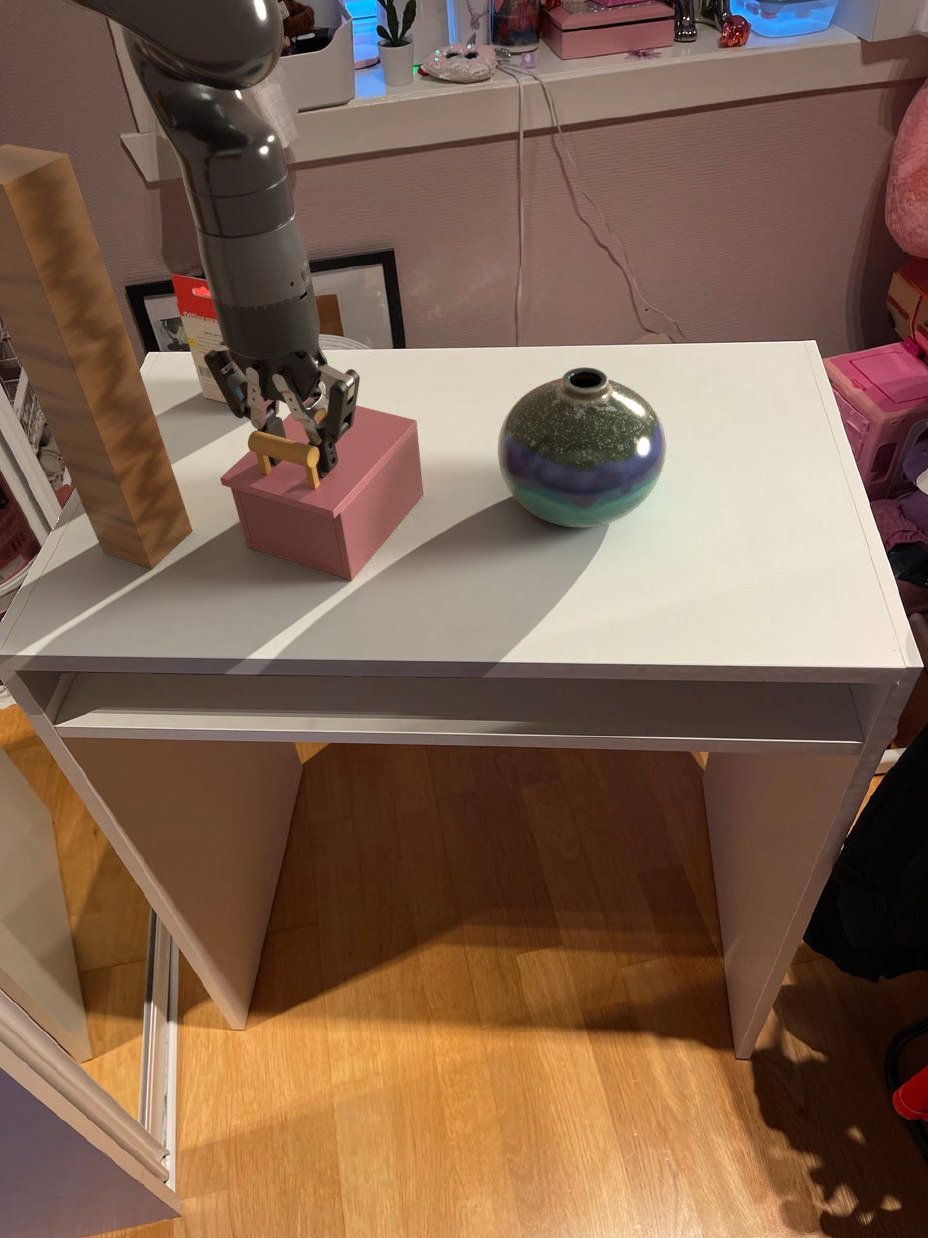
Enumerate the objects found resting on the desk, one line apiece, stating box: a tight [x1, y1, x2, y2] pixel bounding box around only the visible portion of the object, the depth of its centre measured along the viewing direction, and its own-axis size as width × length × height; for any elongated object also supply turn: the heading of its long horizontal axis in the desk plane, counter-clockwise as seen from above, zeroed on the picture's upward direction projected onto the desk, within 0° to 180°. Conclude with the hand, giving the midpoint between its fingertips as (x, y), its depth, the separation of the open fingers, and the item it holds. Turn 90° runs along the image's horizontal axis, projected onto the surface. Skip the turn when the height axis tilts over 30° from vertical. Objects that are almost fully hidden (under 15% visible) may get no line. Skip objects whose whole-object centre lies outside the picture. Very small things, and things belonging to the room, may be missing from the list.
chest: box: [230, 427, 424, 582], centre depth 84 cm, size 14×12×8 cm
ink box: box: [171, 273, 244, 404], centre depth 98 cm, size 8×5×15 cm, turn 65°
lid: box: [219, 397, 418, 519], centre depth 80 cm, size 14×12×5 cm
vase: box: [497, 366, 667, 528], centre depth 83 cm, size 15×15×13 cm
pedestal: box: [0, 143, 194, 570], centre depth 74 cm, size 6×6×34 cm
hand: (302, 464), depth 79 cm, fingers closed on lid, 4 cm apart
